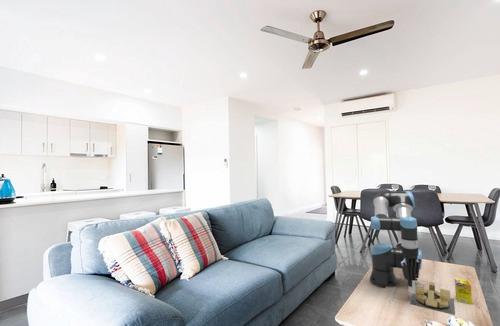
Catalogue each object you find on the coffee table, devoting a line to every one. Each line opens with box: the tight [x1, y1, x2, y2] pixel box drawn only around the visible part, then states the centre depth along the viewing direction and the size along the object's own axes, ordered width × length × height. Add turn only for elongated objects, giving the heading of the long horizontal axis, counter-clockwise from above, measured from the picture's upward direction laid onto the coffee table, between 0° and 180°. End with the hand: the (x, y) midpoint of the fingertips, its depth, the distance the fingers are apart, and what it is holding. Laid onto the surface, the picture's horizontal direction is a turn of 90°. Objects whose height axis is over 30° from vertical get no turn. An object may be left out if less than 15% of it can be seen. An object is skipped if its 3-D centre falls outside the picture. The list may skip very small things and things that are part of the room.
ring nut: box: [415, 281, 451, 308], centre depth 132 cm, size 15×15×7 cm
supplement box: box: [454, 278, 473, 305], centre depth 132 cm, size 6×6×11 cm
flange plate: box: [409, 293, 456, 316], centre depth 132 cm, size 18×18×4 cm
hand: (412, 292), depth 134 cm, fingers closed
